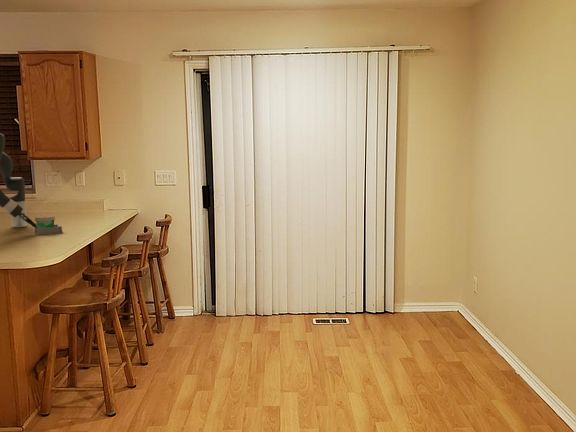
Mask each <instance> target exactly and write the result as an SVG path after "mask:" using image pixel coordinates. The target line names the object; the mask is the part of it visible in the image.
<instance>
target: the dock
mask: <svg viewBox="0 0 576 432" xmlns="http://www.w3.org/2000/svg"><path fill="white" fill-rule="evenodd" d="M35 232H37V233H36V235H37V236H42V235H41V234H43V235H52V234H53V233H55V234H62V233H63V227H62V225H61V224H58V223H57V224H56V223H54V227H46V228H37V226H36V227H34V233H35Z"/></svg>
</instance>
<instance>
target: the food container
mask: <svg viewBox="0 0 576 432" xmlns="http://www.w3.org/2000/svg"><path fill="white" fill-rule="evenodd" d="M55 220H56V217H55V216H50V217H36V216H35V217H34V222H35V224H36V225H37V228H46V227H54V224H55Z"/></svg>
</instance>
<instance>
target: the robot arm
mask: <svg viewBox="0 0 576 432" xmlns="http://www.w3.org/2000/svg"><path fill="white" fill-rule="evenodd" d="M5 146H6V137H5V135H4V134H2V133H0V175H1V176H2V179H3V182H4V185H5V187H6V189H7V190H8V191H10V192H17V194H15V195H13V196H10V197H9V196H7V195H6V194H5V193H4V192H3V190H2V189H1V188H0V207H1V208H2V209H3V210H4V211H6V213H8V214H9V215H10V216H11V217H10V219H11V228H23V227H27V226H28V225H30V226H31V227H32V228H35V227H36V226H37V224H36V222H35V221H33V220H32V219H31V218H30V217H29V216H28V215H27V210H26V209H27V208H26V207H27V206H26V188H25V187H26V186H25V185H26V184H25V179H24V178H23V177H21V176H19V177H18V176H17V177H15V176H14V177H13V176H11V174H12V172H13V169H14V164H13V160H12V159H11V157H10V156H9V155H8V154H7V153H5V152H4V150H5Z"/></svg>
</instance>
